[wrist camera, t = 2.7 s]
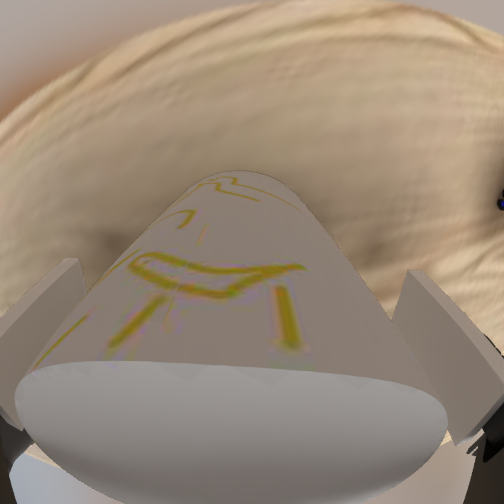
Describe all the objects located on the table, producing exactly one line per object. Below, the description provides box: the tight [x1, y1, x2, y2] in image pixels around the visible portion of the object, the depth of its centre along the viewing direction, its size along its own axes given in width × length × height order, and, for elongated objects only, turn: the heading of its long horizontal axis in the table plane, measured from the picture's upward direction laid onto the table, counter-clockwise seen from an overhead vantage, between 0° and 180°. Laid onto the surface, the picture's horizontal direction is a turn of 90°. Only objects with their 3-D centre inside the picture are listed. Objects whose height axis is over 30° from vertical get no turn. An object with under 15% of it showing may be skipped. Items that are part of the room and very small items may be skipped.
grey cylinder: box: [15, 171, 448, 504], centre depth 9 cm, size 8×8×12 cm
